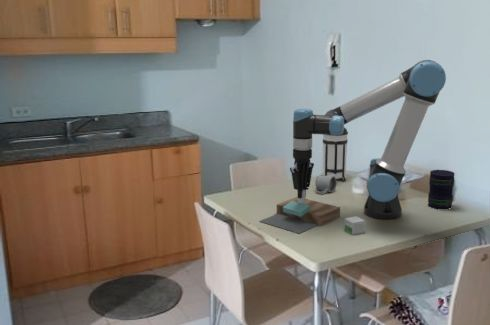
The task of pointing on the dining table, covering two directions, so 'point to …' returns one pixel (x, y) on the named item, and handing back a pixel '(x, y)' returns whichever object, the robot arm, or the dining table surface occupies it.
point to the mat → (288, 223)
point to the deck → (313, 211)
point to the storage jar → (441, 189)
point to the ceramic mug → (325, 184)
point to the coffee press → (335, 155)
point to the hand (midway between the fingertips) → (301, 205)
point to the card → (296, 208)
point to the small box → (354, 225)
